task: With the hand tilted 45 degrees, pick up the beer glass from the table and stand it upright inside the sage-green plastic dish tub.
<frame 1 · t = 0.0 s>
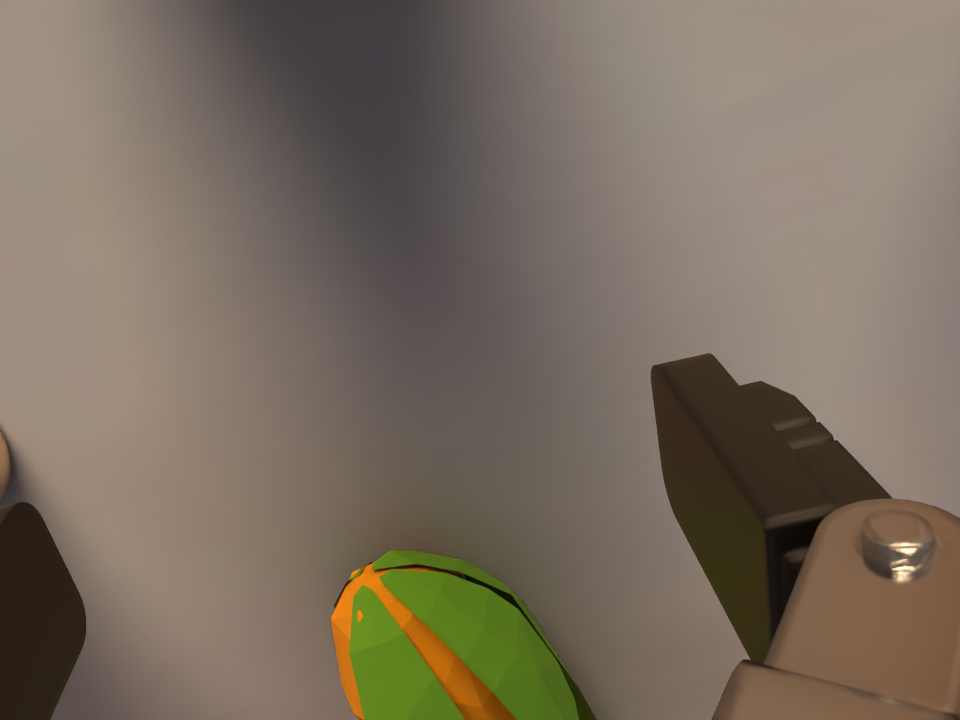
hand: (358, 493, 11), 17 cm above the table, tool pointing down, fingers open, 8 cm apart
corn: (492, 666, 37), on the table
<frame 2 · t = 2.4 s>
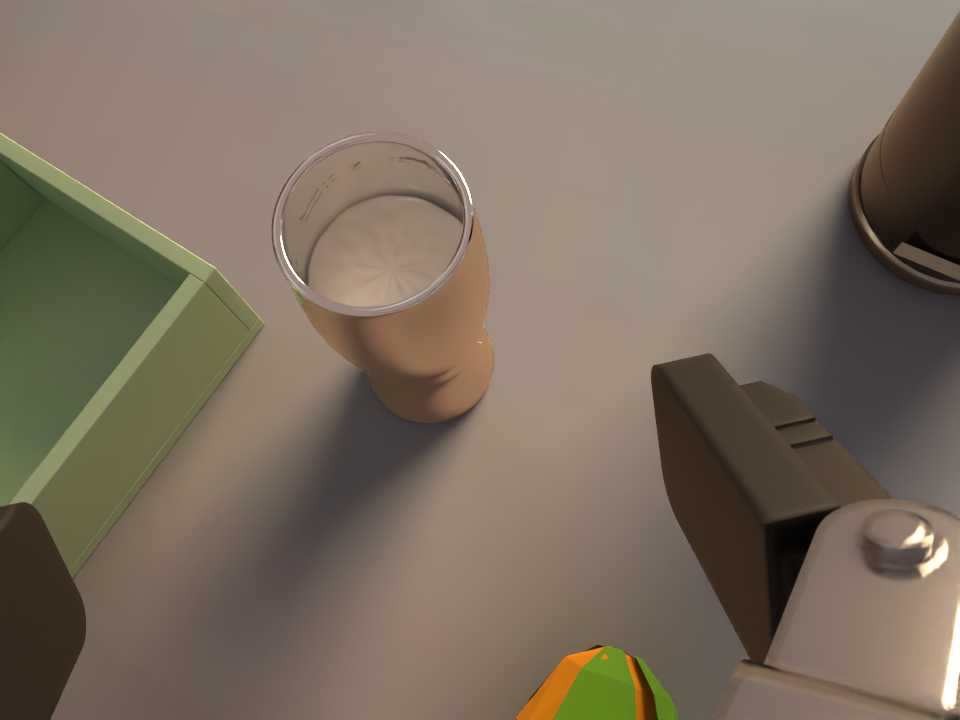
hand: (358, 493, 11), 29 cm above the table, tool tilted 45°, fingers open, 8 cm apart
beer glass: (431, 363, 42), on the table
tub: (49, 384, 43), on the table
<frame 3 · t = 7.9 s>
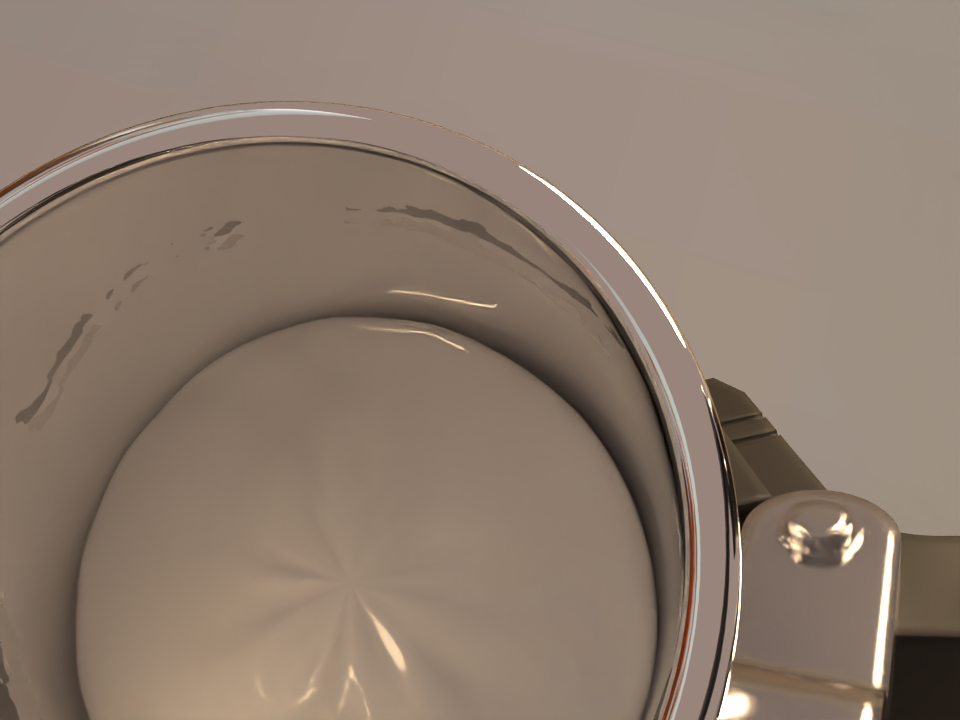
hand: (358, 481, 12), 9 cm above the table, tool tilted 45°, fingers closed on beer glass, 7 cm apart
beer glass: (451, 633, 20), on the table, touching gripper
when the fingers open (10 cm above the table, at t = 17.6 s): beer glass stays where it is, resting on tub.
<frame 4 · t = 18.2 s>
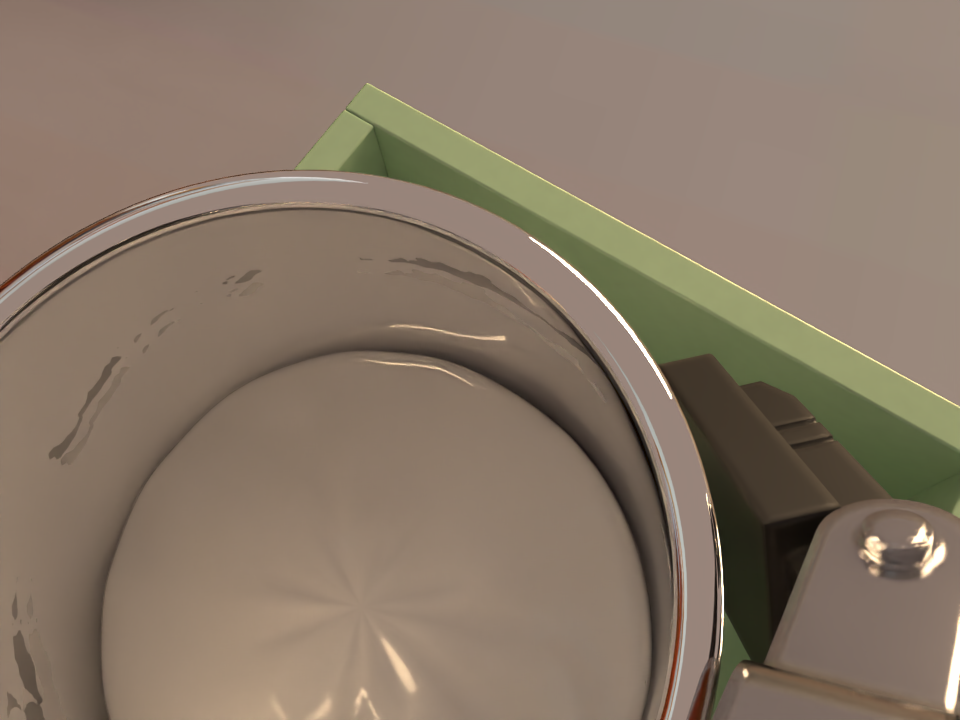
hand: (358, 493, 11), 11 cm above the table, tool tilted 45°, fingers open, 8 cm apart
beer glass: (454, 645, 20), point 1 cm above the table, touching tub
tub: (454, 637, 21), on the table
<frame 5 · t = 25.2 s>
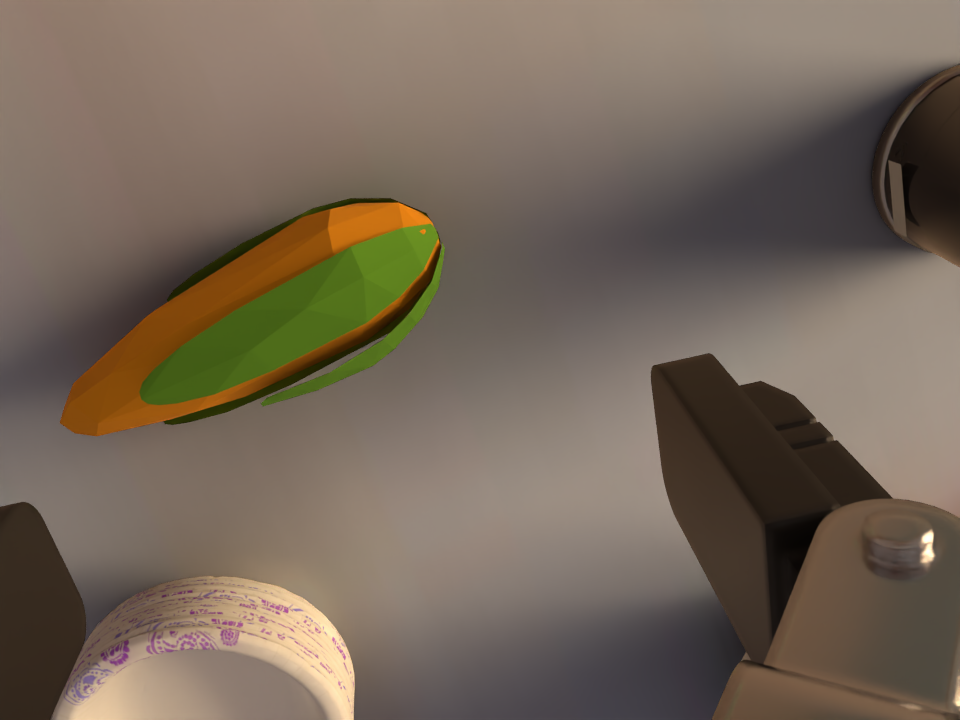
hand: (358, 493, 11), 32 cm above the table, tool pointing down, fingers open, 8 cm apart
paper bowls: (228, 644, 52), on the table
corn: (260, 308, 44), on the table
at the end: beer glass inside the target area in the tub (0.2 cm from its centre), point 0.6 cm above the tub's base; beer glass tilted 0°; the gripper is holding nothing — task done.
